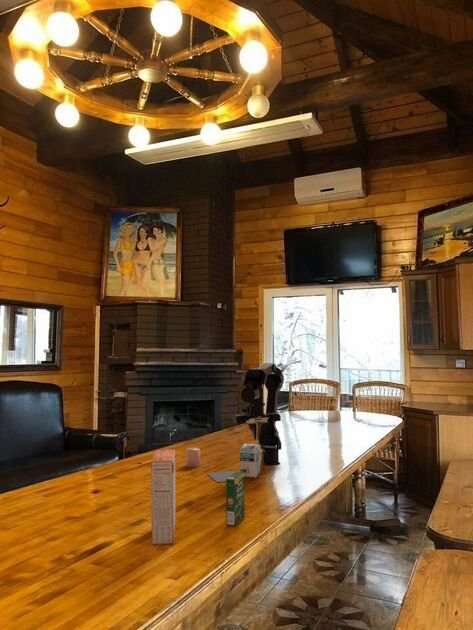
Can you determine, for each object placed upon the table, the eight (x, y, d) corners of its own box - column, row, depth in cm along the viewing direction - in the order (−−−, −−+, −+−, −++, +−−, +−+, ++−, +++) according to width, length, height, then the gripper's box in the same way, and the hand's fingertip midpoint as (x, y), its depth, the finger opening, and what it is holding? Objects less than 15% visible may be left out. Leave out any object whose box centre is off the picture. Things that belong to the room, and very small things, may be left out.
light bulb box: (256, 478, 184) (256, 449, 185) (238, 476, 185) (239, 447, 186) (260, 471, 194) (261, 444, 195) (243, 470, 196) (244, 443, 197)
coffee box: (235, 527, 134) (234, 478, 135) (225, 526, 135) (225, 478, 136) (245, 518, 141) (245, 472, 142) (236, 517, 142) (235, 471, 143)
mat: (233, 471, 194) (233, 470, 194) (245, 479, 182) (245, 479, 182) (206, 474, 191) (206, 473, 191) (217, 482, 179) (217, 481, 179)
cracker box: (154, 525, 136) (154, 449, 137) (176, 524, 136) (176, 448, 138) (149, 545, 122) (150, 460, 123) (173, 545, 122) (174, 460, 124)
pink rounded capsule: (197, 463, 209) (197, 447, 209) (201, 466, 203) (201, 449, 203) (184, 464, 206) (184, 448, 207) (187, 468, 201) (187, 450, 201)
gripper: (269, 397, 204) (270, 435, 203) (227, 399, 197) (227, 438, 196) (281, 399, 193) (281, 439, 192) (236, 401, 187) (237, 443, 186)
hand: (256, 440), depth 192 cm, fingers closed
